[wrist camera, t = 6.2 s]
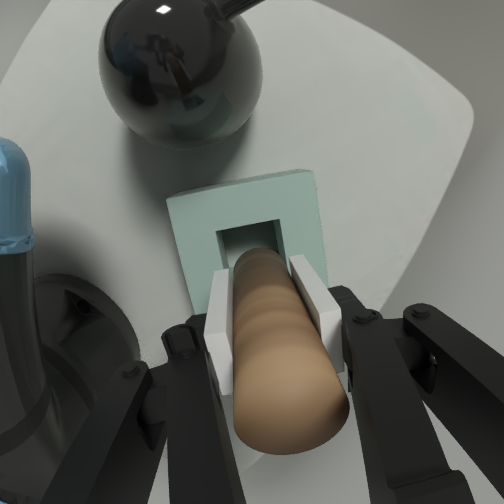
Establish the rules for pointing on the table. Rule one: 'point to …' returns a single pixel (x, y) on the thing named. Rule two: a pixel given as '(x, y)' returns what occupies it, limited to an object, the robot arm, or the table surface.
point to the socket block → (244, 213)
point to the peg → (280, 363)
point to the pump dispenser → (181, 69)
